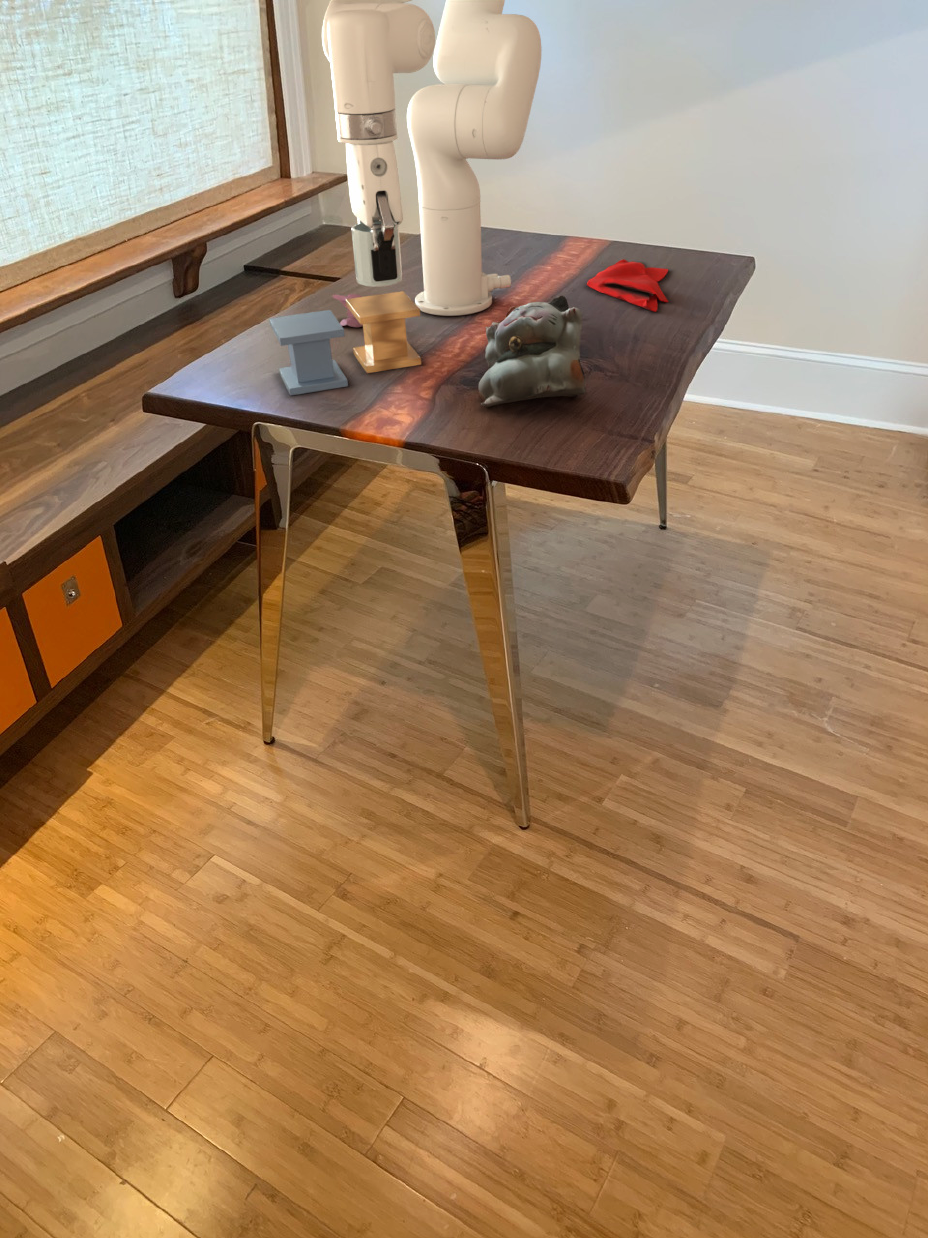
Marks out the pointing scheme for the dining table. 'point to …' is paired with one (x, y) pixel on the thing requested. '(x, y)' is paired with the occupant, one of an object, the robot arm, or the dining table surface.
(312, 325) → the blue stand
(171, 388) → the dining table surface
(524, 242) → the dining table surface
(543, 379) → the lucky cat figurine
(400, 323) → the maple stand
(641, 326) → the dining table surface
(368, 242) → the container
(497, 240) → the dining table surface
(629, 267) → the cloth
